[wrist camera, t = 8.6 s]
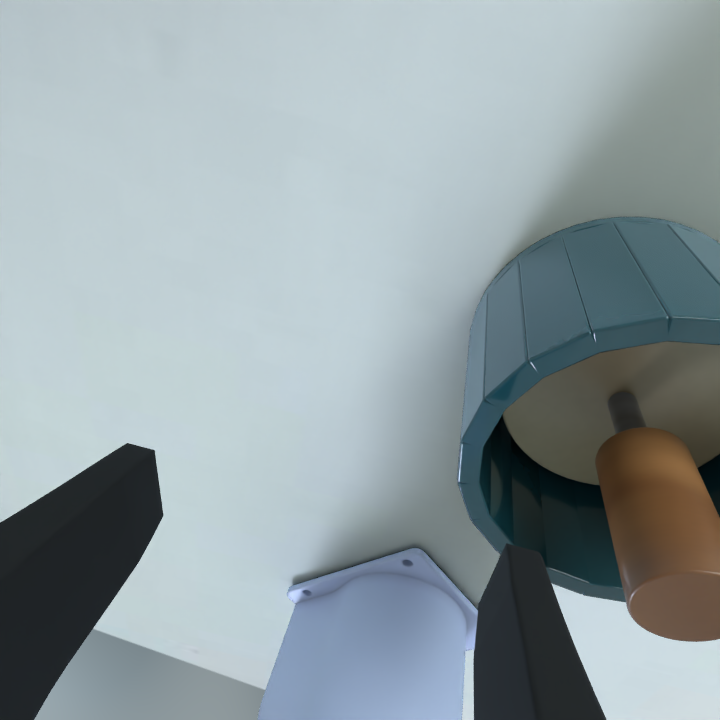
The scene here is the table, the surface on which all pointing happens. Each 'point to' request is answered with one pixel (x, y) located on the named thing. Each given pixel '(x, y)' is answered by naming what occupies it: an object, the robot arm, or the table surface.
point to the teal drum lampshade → (565, 348)
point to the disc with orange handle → (641, 470)
